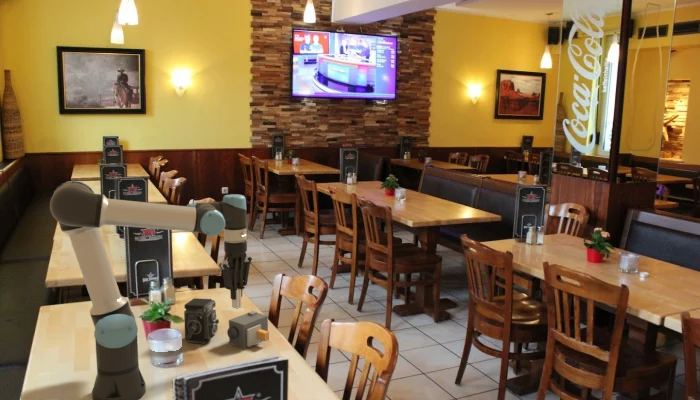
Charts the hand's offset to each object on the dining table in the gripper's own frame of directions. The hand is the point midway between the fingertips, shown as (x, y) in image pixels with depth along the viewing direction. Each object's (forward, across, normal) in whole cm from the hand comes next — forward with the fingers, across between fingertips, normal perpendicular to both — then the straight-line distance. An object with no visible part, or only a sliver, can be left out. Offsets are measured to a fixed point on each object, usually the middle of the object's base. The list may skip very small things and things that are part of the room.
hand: (236, 307), depth 204 cm
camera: (+19, +3, +22) cm, 29 cm away
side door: (+18, +11, +1) cm, 21 cm away
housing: (+18, +13, +8) cm, 24 cm away
